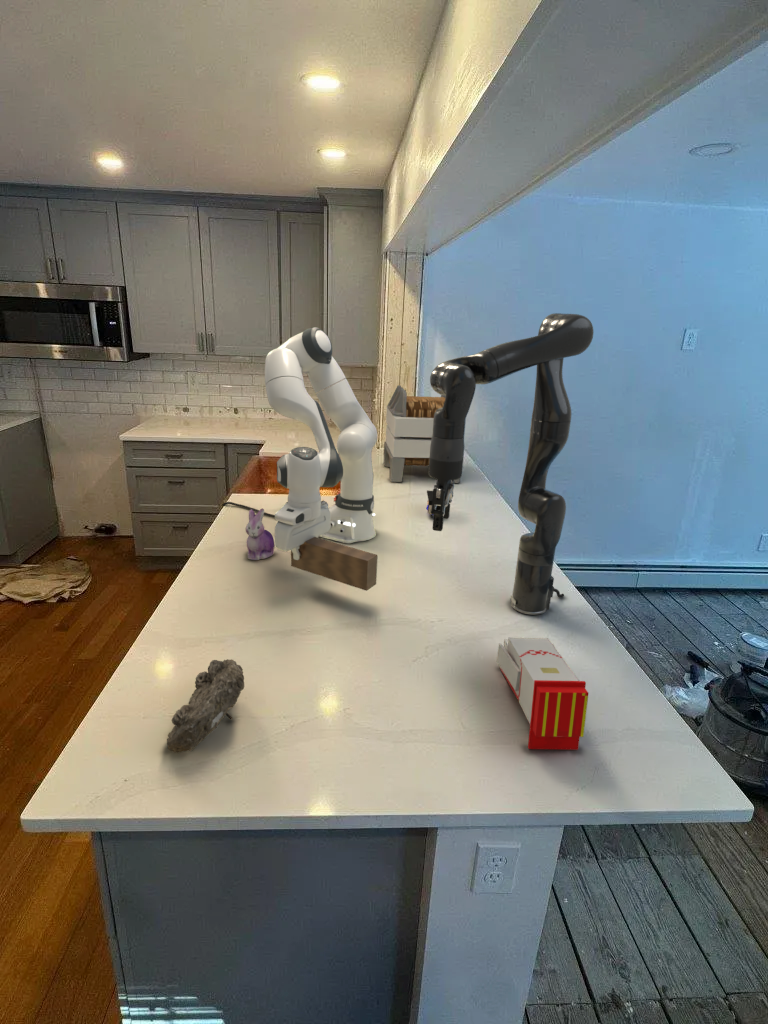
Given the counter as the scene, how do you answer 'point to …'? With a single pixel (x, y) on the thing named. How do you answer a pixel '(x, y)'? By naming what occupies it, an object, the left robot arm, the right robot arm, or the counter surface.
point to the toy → (545, 692)
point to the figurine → (258, 537)
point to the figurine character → (430, 502)
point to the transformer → (409, 431)
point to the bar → (337, 562)
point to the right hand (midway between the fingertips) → (440, 524)
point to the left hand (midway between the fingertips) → (304, 555)
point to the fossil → (206, 705)
